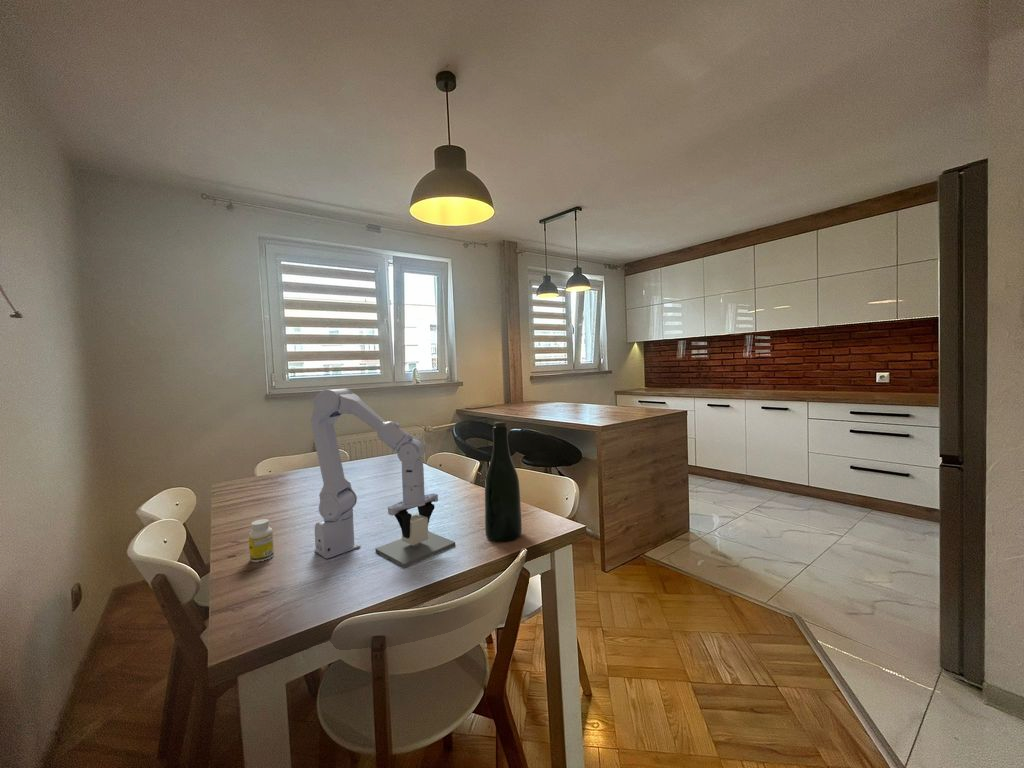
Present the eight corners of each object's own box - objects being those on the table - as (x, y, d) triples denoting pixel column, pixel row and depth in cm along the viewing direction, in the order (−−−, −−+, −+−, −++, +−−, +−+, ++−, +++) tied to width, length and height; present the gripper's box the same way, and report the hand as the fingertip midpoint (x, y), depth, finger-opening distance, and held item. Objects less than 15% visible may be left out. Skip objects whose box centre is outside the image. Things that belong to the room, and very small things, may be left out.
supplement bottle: (252, 555, 108) (251, 519, 108) (275, 552, 110) (274, 516, 110) (247, 564, 103) (245, 526, 103) (271, 560, 105) (269, 523, 105)
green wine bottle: (528, 538, 114) (525, 422, 113) (495, 546, 108) (491, 425, 107) (510, 526, 123) (507, 418, 122) (479, 534, 118) (475, 421, 117)
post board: (404, 567, 98) (403, 543, 98) (375, 552, 108) (374, 530, 107) (455, 545, 110) (454, 524, 110) (425, 533, 119) (424, 513, 119)
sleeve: (412, 545, 105) (411, 522, 105) (402, 540, 109) (401, 518, 109) (428, 539, 109) (427, 517, 109) (417, 534, 112) (416, 513, 112)
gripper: (397, 493, 100) (399, 547, 101) (443, 480, 111) (445, 529, 111) (382, 488, 105) (385, 539, 105) (428, 476, 116) (430, 523, 116)
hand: (415, 533), depth 109 cm, fingers closed on sleeve, 5 cm apart
